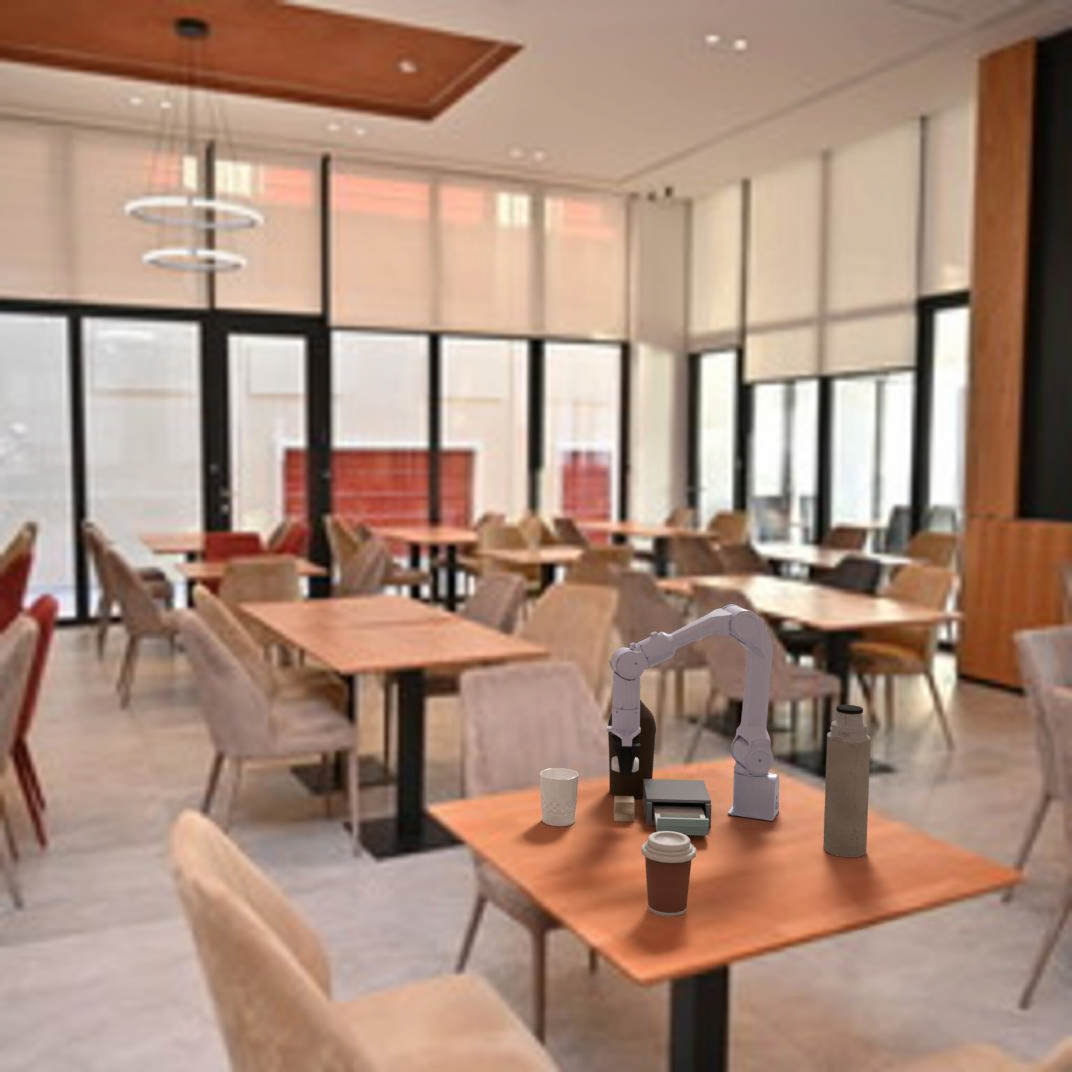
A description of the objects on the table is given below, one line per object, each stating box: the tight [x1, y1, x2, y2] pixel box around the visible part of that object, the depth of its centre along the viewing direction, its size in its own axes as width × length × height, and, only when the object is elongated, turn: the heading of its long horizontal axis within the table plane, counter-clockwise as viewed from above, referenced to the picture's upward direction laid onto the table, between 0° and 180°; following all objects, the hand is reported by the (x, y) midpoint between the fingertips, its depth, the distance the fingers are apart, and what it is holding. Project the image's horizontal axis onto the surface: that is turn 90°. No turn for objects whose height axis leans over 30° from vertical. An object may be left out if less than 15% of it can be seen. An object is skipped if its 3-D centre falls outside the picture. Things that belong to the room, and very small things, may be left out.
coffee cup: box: [640, 831, 697, 918], centre depth 177 cm, size 9×9×12 cm
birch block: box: [613, 795, 635, 823], centre depth 221 cm, size 4×4×4 cm
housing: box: [642, 778, 712, 828], centre depth 224 cm, size 13×14×5 cm
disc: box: [612, 756, 639, 772], centre depth 220 cm, size 6×6×2 cm
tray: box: [653, 806, 710, 836], centre depth 214 cm, size 10×12×3 cm
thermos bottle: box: [822, 704, 872, 858], centre depth 204 cm, size 8×8×28 cm
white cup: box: [539, 767, 579, 827], centre depth 219 cm, size 8×8×10 cm
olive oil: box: [607, 699, 657, 800], centre depth 237 cm, size 11×11×25 cm
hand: (625, 771), depth 221 cm, fingers closed on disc, 6 cm apart
